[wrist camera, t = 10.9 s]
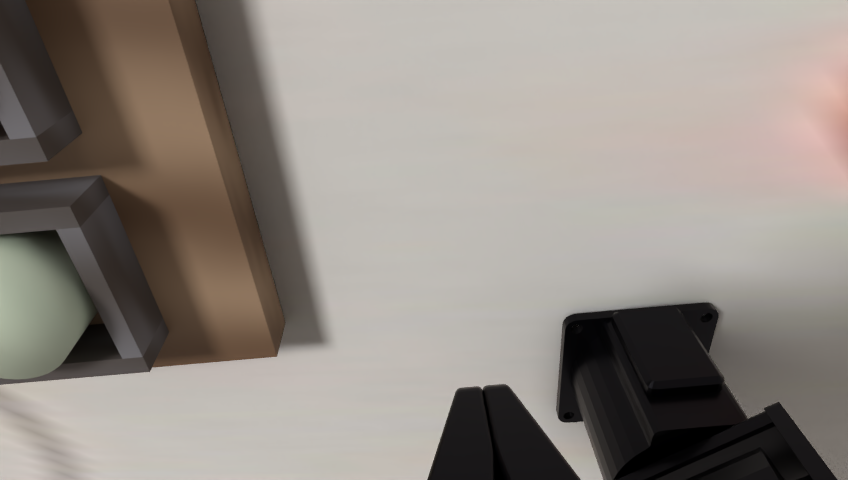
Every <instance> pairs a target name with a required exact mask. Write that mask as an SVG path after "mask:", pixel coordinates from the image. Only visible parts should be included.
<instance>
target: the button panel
mask: <svg viewBox="0 0 848 480" xmlns="http://www.w3.org/2000/svg"><path fill="white" fill-rule="evenodd" d="M46 230H56V231H57V232H58V234H59V236H60V238H61V240H62V242H63V244H64V246H65V248H66V250H67V252H68V254H69V256H70V258H71V260H72V262H73V264H74V266H75V268H76V270H77V271H78V273H79V275H80V277H81V279H82V281H83V283H84V285H85V287H86V289H87V291H88V293H89V295H90V297H91V299H92V301H93V303H94V305H95V307H96V309H97V310H98V312H97V314H96V315H95V316H94V318H93V319H92V321H91V322H90V324H89V325H88V327H87V328H86V330H85V331H84V333H83V334H82V335H81V337H80V338H79V340H78V341H77V343H76V344H75V346H74V347H73V349H72V350H71V352H70V353H69V354H68V356H67V357H66V359H65V360H64V362H63V363H62V364H61V365H60V366H59V367H58V368H56V369H55V370H53V371H52V372H50V373H48V374H45V375H42V376H39V377H35V378H29V379H3V378H0V385H2V384H13V383H25V382H36V381H48V380H59V379H71V378H82V377H94V376H105V375H117V374H128V373H140V372H150V370H151V368H152V367H162V366H173V365H185V364H196V363H208V362H219V361H231V360H242V359H254V358H265V357H277V354H278V350H279V346H280V342H281V338H282V334H283V330H284V326H285V320H284V316H283V313H282V309H281V305H280V302H279V298H278V295H277V291H276V288H275V284H274V280H273V277H272V273H271V270H270V266H269V263H268V259H267V256H266V252H265V248H264V245H263V241H262V238H261V234H260V231H259V227H258V223H257V220H256V216H255V213H254V209H253V206H252V202H251V199H250V195H249V191H248V188H247V184H246V181H245V177H244V174H243V170H242V166H241V163H240V159H239V156H238V152H237V149H236V145H235V142H234V138H233V134H232V131H231V127H230V124H229V120H228V117H227V113H226V109H225V106H224V102H223V99H222V95H221V92H220V88H219V85H218V81H217V77H216V74H215V70H214V67H213V63H212V60H211V56H210V52H209V49H208V45H207V42H206V38H205V35H204V31H203V28H202V24H201V20H200V17H199V13H198V10H197V6H196V3H195V0H0V235H1V234H12V233H23V232H34V231H46Z"/></svg>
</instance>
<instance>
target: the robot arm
mask: <svg viewBox="0 0 848 480" xmlns="http://www.w3.org/2000/svg"><path fill="white" fill-rule="evenodd" d="M704 314H706V315H704ZM703 315H704V316H703ZM717 320H718V312H717V311H716V309H715V308H714V306H713V305H712V304H710V303H695V304H684V305H673V306H661V307H650V308H638V309H627V310H615V311H604V312H592V313H581V314H573V315H570V316H568V317H566V318H565V320H564V321H563V325H562V339H561V352H560V366H559V379H558V393H557V406H556V411H557V415H558V418H559V420H560V421H562V422H580V421H584V424H585V427H586V430H587V433H588V436H589V439H590V442H591V445H592V448H593V450H594V453H595V456H596V459H597V462H598V465H599V468H600V471H601V474H602V477H603V480H837V479H836V477H835V476H834V475H833V473H832V472H831V471H830V469H829V468H828V467H827V465H826V464H825V463H824V461H823V460H822V459H821V457H820V456H819V455H818V453H817V452H816V451H815V449H814V448H813V447H812V445H811V444H810V443H809V441H808V440H807V439H806V437H805V436H804V435H803V433H802V432H801V431H800V429H799V428H798V427H797V425H796V424H795V423H794V421H793V420H792V419H791V417H790V416H789V415H788V413H787V412H786V411H785V409H784V408H783V407H782V405H781V404H780V403H779V402H777V403H775V404H773V405H771V406H768V407H766V408H764V410H765V411H764V412H762V413H760V414H758V415H756V416H753V417H751V418H749V419H748V418H747V416H746V415H745V413H744V412H743V410H742V409H741V407H740V405H739V404H738V402H737V401H736V399H735V398H734V396H733V395H732V393H731V392H730V390H729V388H728V387H727V385H726V384H725V382H724V377H723V375H722V374H721V372H720V371H719V369H718V368H717V366H716V365H715V363H714V361H713V360H712V358H711V357H710V355H709V354H708V353H709V350H710V346H711V342H712V339H713V335H714V331H715V327H716V324H717ZM574 325H578V326H577V327H573V326H574ZM427 480H580V478H579V477H578V476H577V474H576V473H575V472H574V470H573V469H572V468H571V466H570V465H569V464H568V463H567V461H566V460H565V459H564V457H563V456H562V455H561V453H560V452H559V451H558V449H557V448H556V447H555V446H554V444H553V443H552V442H551V440H550V439H549V438H548V436H547V435H546V434H545V433H544V431H543V430H542V429H541V427H540V426H539V425H538V423H537V422H536V421H535V419H534V418H533V417H532V416H531V414H530V413H529V412H528V410H527V409H526V408H525V406H524V405H523V404H522V402H521V401H520V400H519V399H518V397H517V396H516V395H515V393H514V392H513V391H512V389H511V388H510V387H509V386H508V385H506V384H499V385H488V386H485V387H484V388H483V390H482V389H481V388H480V387H478V386H476V387H464V388H459V389H457V391H456V393H455V396H454V399H453V402H452V405H451V408H450V411H449V414H448V417H447V420H446V424H445V427H444V430H443V433H442V436H441V439H440V442H439V445H438V448H437V452H436V455H435V458H434V461H433V464H432V467H431V470H430V473H429V476H428V479H427Z"/></svg>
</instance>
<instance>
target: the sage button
mask: <svg viewBox="0 0 848 480" xmlns="http://www.w3.org/2000/svg"><path fill="white" fill-rule="evenodd" d="M97 312H98V310H97V309H96V307H95V305H94V303H93V301H92V299H91V297H90V295H89V293H88V291H87V289H86V287H85V285H84V283H83V281H82V279H81V277H80V275H79V273H78V271H77V270H76V268H75V266H74V264H73V262H72V260H71V258H70V256H69V254H68V252H67V250H66V248H65V246H64V244H63V242H62V240H61V238H60V236H59V234H58V232H57V231H56V230H46V231H34V232H23V233H12V234H1V235H0V378H3V379H29V378H35V377H39V376H42V375H45V374H48V373H50V372H52V371H53V370H55V369H56V368H58V367H59V366H60V365H61V364H62V363H63V362H64V360H65V359H66V357H67V356H68V354H69V353H70V352H71V350H72V349H73V347H74V346H75V344H76V343H77V341H78V340H79V338H80V337H81V335H82V334H83V333H84V331H85V330H86V328H87V327H88V325H89V324H90V322H91V321H92V319H93V318H94V316H95V315H96V314H97Z"/></svg>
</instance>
